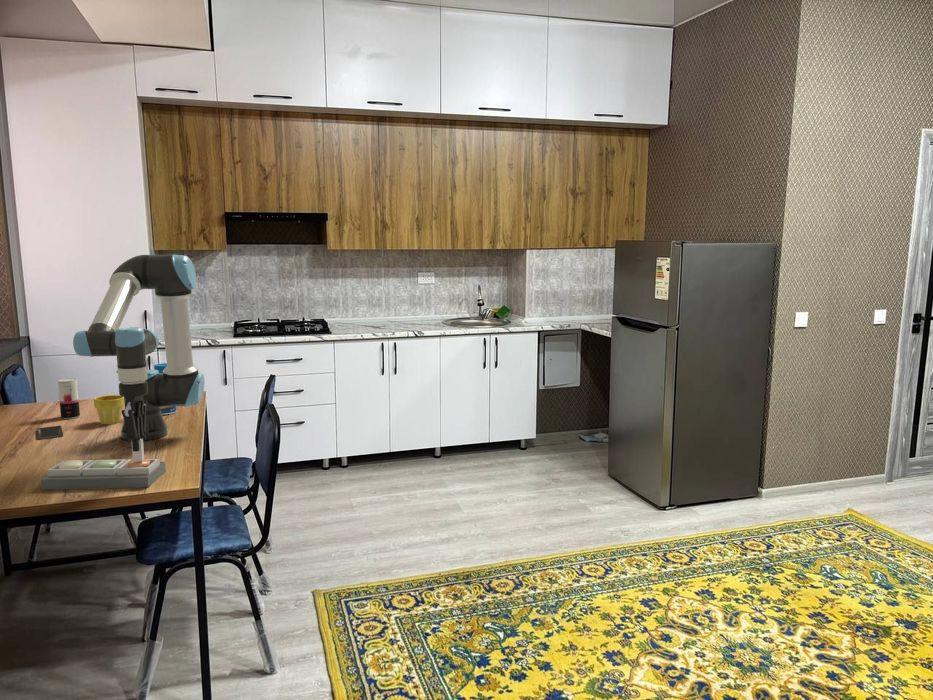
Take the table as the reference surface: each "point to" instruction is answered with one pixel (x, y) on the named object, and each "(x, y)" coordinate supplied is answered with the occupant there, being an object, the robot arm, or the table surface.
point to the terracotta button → (138, 464)
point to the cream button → (71, 464)
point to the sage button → (105, 464)
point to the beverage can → (68, 398)
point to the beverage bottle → (172, 408)
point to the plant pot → (109, 408)
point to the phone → (49, 432)
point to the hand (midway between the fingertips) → (138, 460)
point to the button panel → (103, 476)
